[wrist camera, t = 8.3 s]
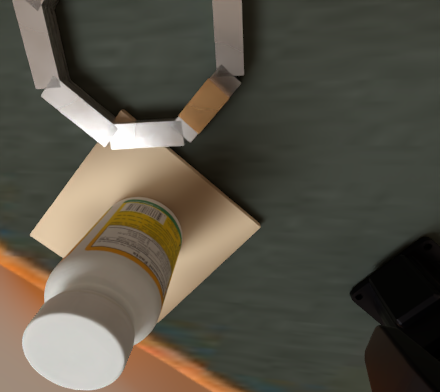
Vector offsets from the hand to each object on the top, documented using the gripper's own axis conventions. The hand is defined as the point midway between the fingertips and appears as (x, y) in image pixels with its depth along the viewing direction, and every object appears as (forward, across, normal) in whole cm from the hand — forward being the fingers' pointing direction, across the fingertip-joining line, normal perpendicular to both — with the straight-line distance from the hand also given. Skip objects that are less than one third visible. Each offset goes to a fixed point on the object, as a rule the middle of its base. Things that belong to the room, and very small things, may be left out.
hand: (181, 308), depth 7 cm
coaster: (+13, +4, +5) cm, 15 cm away
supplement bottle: (+13, +4, +6) cm, 14 cm away
